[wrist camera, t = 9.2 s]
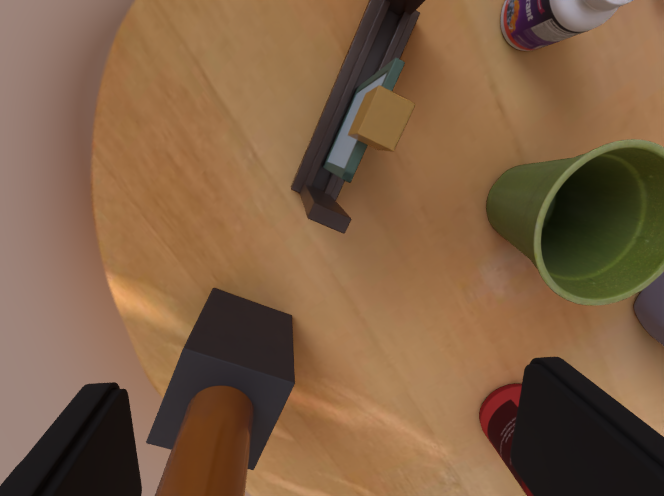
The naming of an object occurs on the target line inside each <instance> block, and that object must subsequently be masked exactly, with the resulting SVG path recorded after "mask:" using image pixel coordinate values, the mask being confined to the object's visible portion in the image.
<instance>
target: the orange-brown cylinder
mask: <svg viewBox="0 0 664 496" xmlns="http://www.w3.org/2000/svg"><path fill="white" fill-rule="evenodd" d="M253 417H254V409H253V405H252V403H251V401H250V399H249V398H248V397H247V396H246V395H245V394H244V393H243V392H242V391H240V390H238V389H236V388H234V387H230V386H224V385H218V386H212V387H208V388H206V389H203V390H202V391H200V392H198V393H197V394H196V395H195V396H194V397H193V398H192V399H191V401H190V402H189V404H188V407H187V410H186V412H185V415H184V418H183V420H182V423H181V426H180V429H179V431H178V434H177V437H176V439H175V442H174V445H173V448H172V450H171V453H170V456H169V458H168V461H167V464H166V467H165V469H164V472H163V475H162V478H161V480H160V483H159V486H158V489H157V491H156V494H155V496H245V488H246V479H247V470H248V461H249V452H250V444H251V435H252V426H253Z"/></svg>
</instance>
